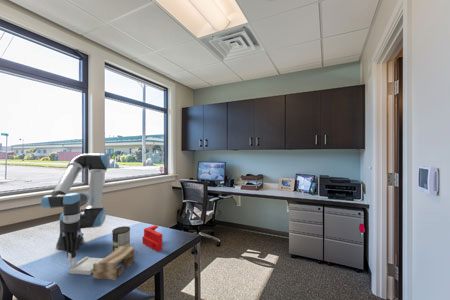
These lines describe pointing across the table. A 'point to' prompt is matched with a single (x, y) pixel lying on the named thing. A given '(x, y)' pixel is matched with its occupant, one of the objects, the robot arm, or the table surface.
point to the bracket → (152, 238)
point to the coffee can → (121, 237)
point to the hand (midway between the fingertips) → (71, 263)
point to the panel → (84, 266)
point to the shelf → (113, 263)
